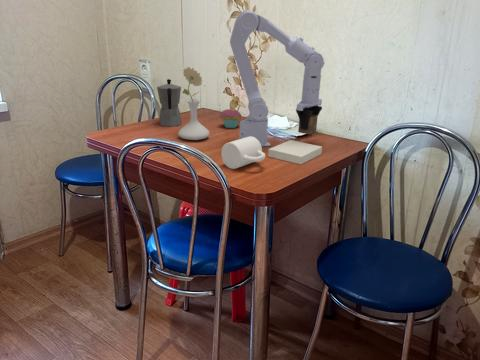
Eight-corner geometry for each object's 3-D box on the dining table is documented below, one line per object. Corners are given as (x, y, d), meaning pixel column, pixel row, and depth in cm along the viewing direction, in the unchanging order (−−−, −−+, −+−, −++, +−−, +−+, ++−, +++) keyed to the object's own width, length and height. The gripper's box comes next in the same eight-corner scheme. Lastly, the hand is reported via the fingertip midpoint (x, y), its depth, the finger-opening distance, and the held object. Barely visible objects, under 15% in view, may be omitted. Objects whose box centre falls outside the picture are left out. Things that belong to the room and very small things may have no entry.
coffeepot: (159, 120, 178) (156, 76, 171) (181, 120, 179) (180, 76, 173) (158, 129, 164) (156, 82, 157) (182, 129, 165) (181, 82, 159)
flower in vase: (215, 140, 153) (215, 69, 143) (186, 144, 147) (184, 70, 138) (199, 131, 163) (198, 64, 154) (171, 135, 157) (169, 66, 148)
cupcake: (244, 126, 172) (245, 96, 168) (233, 130, 165) (233, 100, 161) (227, 123, 176) (227, 94, 172) (215, 127, 170) (215, 97, 165)
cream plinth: (300, 164, 130) (301, 156, 129) (268, 156, 137) (268, 149, 136) (321, 153, 141) (322, 146, 140) (290, 146, 147) (290, 139, 146)
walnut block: (309, 134, 146) (311, 117, 143) (298, 132, 148) (299, 115, 146) (316, 132, 149) (317, 115, 147) (304, 129, 151) (306, 113, 149)
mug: (220, 165, 128) (221, 140, 125) (242, 158, 135) (243, 133, 132) (251, 175, 121) (252, 149, 118) (272, 167, 128) (273, 141, 125)
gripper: (311, 92, 135) (307, 134, 140) (331, 87, 146) (327, 126, 151) (292, 90, 139) (289, 130, 144) (312, 85, 150) (309, 122, 155)
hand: (307, 127), depth 148 cm, fingers closed on walnut block, 5 cm apart
